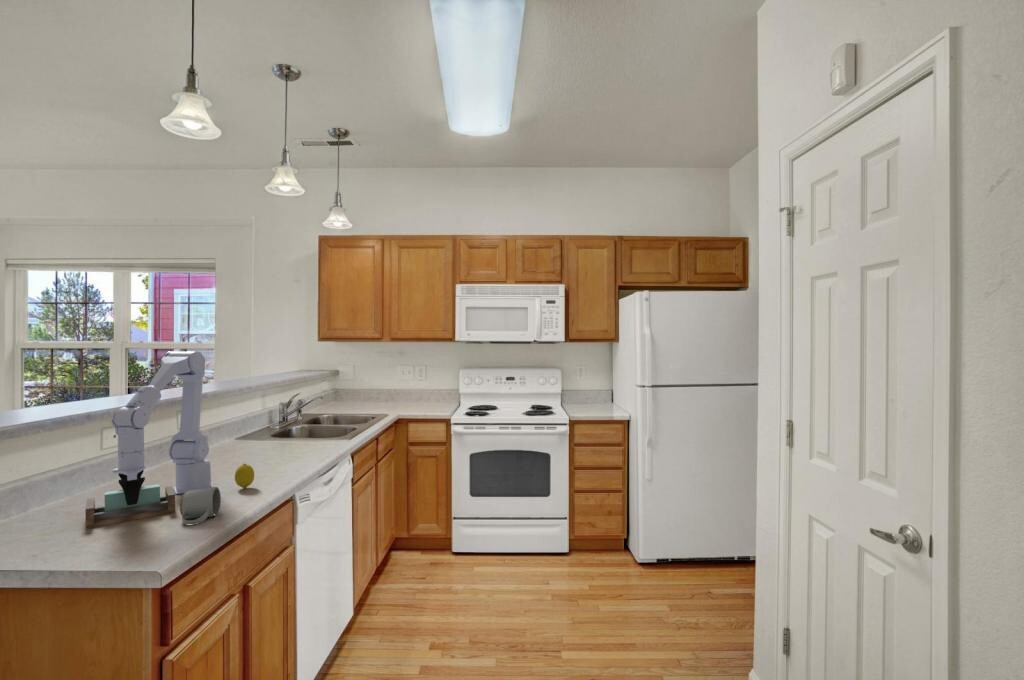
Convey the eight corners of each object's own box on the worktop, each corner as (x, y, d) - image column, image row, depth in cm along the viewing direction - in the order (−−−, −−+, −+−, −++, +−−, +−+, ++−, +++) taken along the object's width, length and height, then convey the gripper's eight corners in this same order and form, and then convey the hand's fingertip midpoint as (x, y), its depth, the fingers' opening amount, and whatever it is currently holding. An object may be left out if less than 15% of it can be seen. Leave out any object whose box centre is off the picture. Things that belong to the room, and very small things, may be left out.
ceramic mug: (188, 513, 139) (187, 485, 139) (221, 510, 141) (221, 483, 141) (173, 528, 129) (173, 498, 129) (209, 525, 131) (208, 495, 131)
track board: (172, 502, 148) (171, 485, 148) (175, 512, 140) (175, 494, 140) (87, 517, 136) (87, 499, 136) (85, 528, 128) (85, 509, 128)
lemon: (246, 491, 158) (245, 466, 158) (230, 490, 159) (230, 465, 159) (258, 486, 164) (258, 461, 164) (243, 485, 165) (243, 461, 165)
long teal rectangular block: (159, 505, 143) (159, 483, 143) (160, 507, 141) (159, 486, 141) (105, 514, 136) (104, 492, 136) (104, 517, 133) (104, 495, 133)
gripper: (112, 448, 141) (113, 496, 141) (112, 458, 130) (113, 511, 130) (143, 445, 145) (144, 492, 146) (146, 454, 134) (146, 505, 134)
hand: (131, 500), depth 138 cm, fingers open, 7 cm apart
